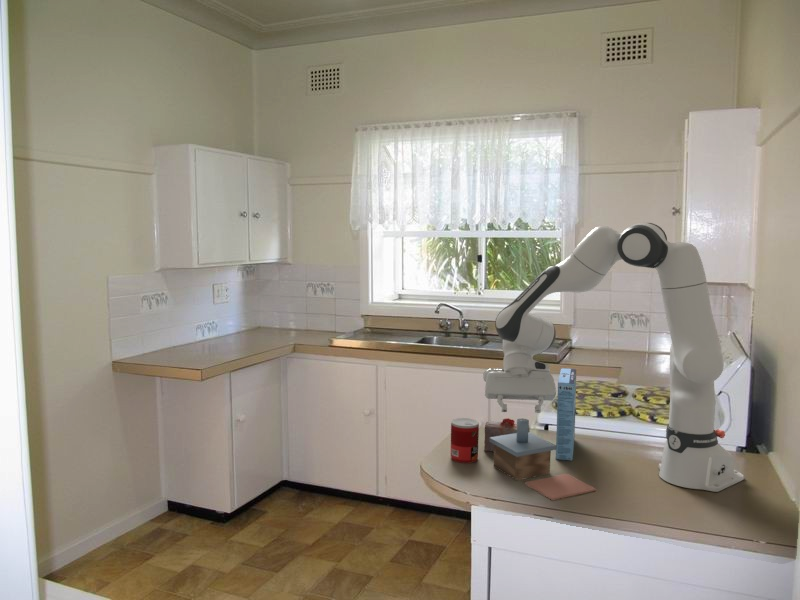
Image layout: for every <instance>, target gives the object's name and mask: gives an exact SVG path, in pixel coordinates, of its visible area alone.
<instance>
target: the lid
mask: <svg viewBox="0 0 800 600" xmlns="http://www.w3.org/2000/svg"><path fill="white" fill-rule="evenodd" d="M516 424H517V433H513V434H507V435H501V436H495V437H489V442H491V443H493V444H495V445H496V446H498V447H500V448H502V449H504V450H505V451H507V452H509V453H511V454H512V455H514V456H516V457H519V456H524V455H530V454H535V453H541V452H546V451H556V444H554V443H552V442H550V441H548V440H546V439H544V438H542V437H540V436H538V435H536V434H533V433H532V432H531V431H530V432H529V427H530V422H529V419H527V418H517V420H516Z"/></svg>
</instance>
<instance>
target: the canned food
mask: <svg viewBox="0 0 800 600" xmlns="http://www.w3.org/2000/svg"><path fill="white" fill-rule="evenodd" d="M450 422H451V423H450V457H451V460H453V461H454V462H457V463H460V464H461V463H462V464H472V463H475V462H476V461H477V460H478V459H479V458H478V457H479V438H480V437H479V434H480V433H479V431H480V428H479V427H480V426H479V421H478V420H476V419H473V418H468V417H467V418H465V417H458V418H455V419H454V418H453V419H452V420H451V421H450Z"/></svg>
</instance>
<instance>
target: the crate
mask: <svg viewBox="0 0 800 600" xmlns="http://www.w3.org/2000/svg"><path fill="white" fill-rule="evenodd" d="M551 451H552V450H551ZM551 451H546V452H541V453H535V454H530V455H524V456H519V457H516V456H514V455H512V454H511V453H509V452H507V451H505V450H504V449H502V448H500V447H498V446H496V445H495V444H494V452H493V467H494V468H496V469H498V470H499V469H500V471H501V472H502V471H503V472H502V473H504V472H505V473H504V474H506V475H507V474H508V475H507V476H509V475H510V476H509V477H511V478H512V477H513V478H512V479H514V480H515V479H516V481H521V480H524V479H525V478H526V479H529V478H530V477H531V478H535V477H534V476H536V477H539V476H540V475H541V476H544V475H545V474H546V475H549V474H551V458H552V457H551V456H552V455H551V453H552V452H551ZM520 479H521V480H520ZM526 479H525V480H526Z"/></svg>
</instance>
